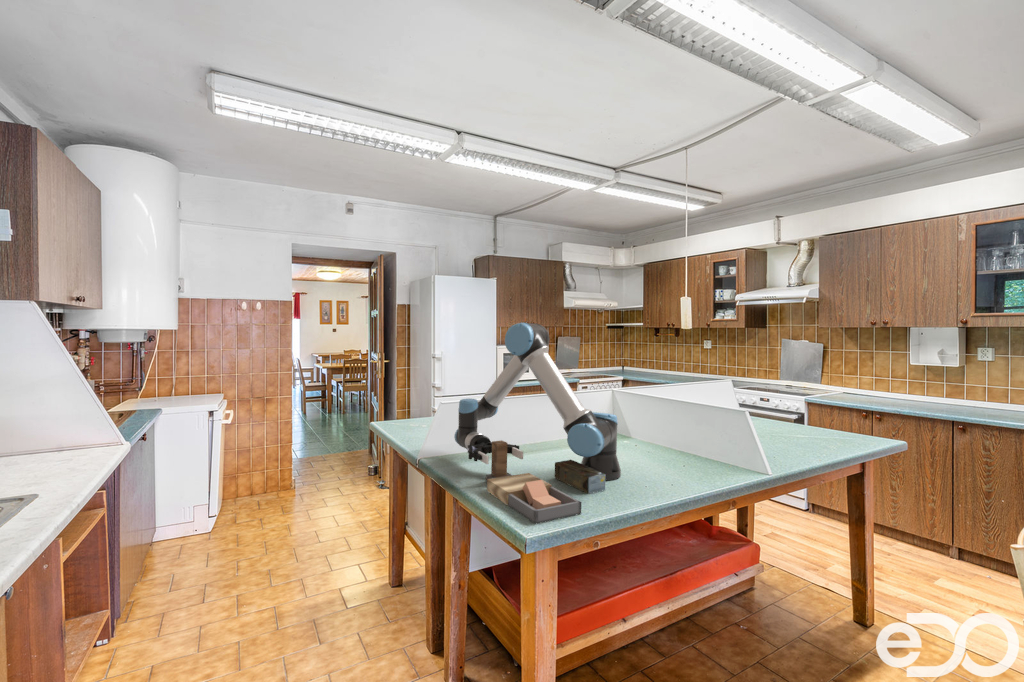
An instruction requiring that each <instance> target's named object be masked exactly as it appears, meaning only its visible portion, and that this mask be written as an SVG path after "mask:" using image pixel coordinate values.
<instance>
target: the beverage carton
mask: <svg viewBox="0 0 1024 682" xmlns="http://www.w3.org/2000/svg"><path fill="white" fill-rule="evenodd" d="M605 476H606V475H605V474H604V473H602V472H599V471H597V470H595V469H592V468H590V467H588V466H585V465H583V464H581V462H578V461H576V460H573V459H567V460H561V461H555V462H554V478H555V479H556V480H559V481H561V482H563V483H565V484H567V485H568V484H569V486H570V485H571V487H573V488H575V489H577V490H579V491H581V492H583V491H584V492H583V493H585V494H588V493H591V494H594V493H593V492H596V493H598V492H597V491H600V492H603V491H602V490H605V491H606V480H605Z"/></svg>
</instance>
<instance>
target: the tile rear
mask: <svg viewBox="0 0 1024 682" xmlns="http://www.w3.org/2000/svg"><path fill="white" fill-rule="evenodd" d="M543 481H544V479H541V480H538V481H532V482H526V483H525V485H524V486H523V491H524V493H525V495H526V498H527V500H528V502H529V505H533V498H536V497H542V496H547V495H549V494H548V491H547V489H546V487H545V485H544V483H543Z"/></svg>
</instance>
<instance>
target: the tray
mask: <svg viewBox="0 0 1024 682" xmlns="http://www.w3.org/2000/svg"><path fill="white" fill-rule="evenodd" d="M549 495H550V496H552V497H554V498H556V499H557V500H559V501H561V505H557V506H552V507H547V508H542V509H537V510H536V509H535V508H533V505H529V502H528V501H522V500H520V499H519V498H517V497H516V496H514V495H513V494H509V502H508V505H507V506H508V507H510V508H511V509H513V510H514V511H516V513H518V514H520V515H521V516H522V517H524V518H526V519H527V520H528V519H529V521H530V522H531V521H532V522H531V523H533V524H534V523H535V524H534V525H536V523H537V524H541V523H540V522H542V523H546V522H550V521H549V520H551V521H554V520H553V519H556V520H559V519H558V518H560V519H563V518H562V517H565V518H568V517H567V516H569V517H572V516H571V515H574V516H577V515H576V514H578V515H581V514H582V501H580V500H579V499H577V498H576V497H575V498H574V497H573V496H571V495H569V494H568V493H565V492H563V491H562V490H561V489H560V490H559V489H558V488H555V487H554V486H552V487H550V494H549ZM580 513H581V514H580ZM545 521H546V522H545Z"/></svg>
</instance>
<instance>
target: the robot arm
mask: <svg viewBox="0 0 1024 682" xmlns="http://www.w3.org/2000/svg"><path fill="white" fill-rule="evenodd" d="M550 340H551V339H550V333H549V331H548V330H547V328H546V327H545V326H544V325H541V324H540V323H529V322H528V323H527V322H518V323H515V324H513V325H511V326H510V327H509V328H508V329H507V331H506V333H505V337H504V344H505V348H506V350H507V351H508V352H509V353H510V354H512V355H513V356H512V358H511V359H510V361H509V362H508V363H507V364H506V366H505V367H504V369H503V370H502V371H501V373H500V374H499V375H498V376H497V378H496V379H495V380H494V382H493V383H492V384H491V386H490V387H489V388H488V390H486V392H485V394H484V395H483V396H482V397H481V398H480V400H479V401H478V400H477V399H476V398H462V399H460V400H459V403H458V427H457V429H456V431H455V432H454V441H455V442H456V444H457V445H458V446H460V447H461V448H464V449H466V450H467V454H468V460H472V459H473V461H474V462H478V461H480V462H481V463H484V464H485V465H489V460H490V459H489V455H488V454H492V441H491V440H490V438H489V437H488V436H487V435H484V434H482V433H480V432H478V424H479V423H478V421H482V420H485V419H489V418H493V416H495V415H496V414H497V413H498V411H499V407H500V405H501V403H502V402H503V401H504V399H506V397H507V396H508V395H509V393H510V392H511V390H512V389H513V388H514V387H515V386H516V384H517V383H518V382H519V380H520V379H521V378H522V377H523V375H524V374H525V373H526V371H528V369H530V371H531V372H532V374H533V375H534V377H535V379H536V380H537V382H538V383H539V385H540V386H541V387H542V390H543V391H544V392H545V394H546V395H547V397H548V398H549V400H550V402H551V403H552V405H553V406H554V408H555V410H556V411H557V413H558V414H559V416H560V418H561V419H562V420H563V427H562V428H563V430H564V431H565V433H566V435H567V439H566V441H567V445H568V447H569V449H570V450H571V451H572V452H573V453H574V454H576V455H577V456H579V457H582V460H581V462H580V463H581V464H583V465H585V466H588V467H590V468H592V469H595V470H597V471H599V472H602V473H604V474H605V475H606V476H605V481H613V479H614V480H617V478H618V479H619V477H620V478H621V476H622V475H621V474H622V470H621V466H620V462H619V459H618V455H617V448H618V447H617V445H618V444H617V443H618V442H617V440H618V423H619V422H618V416H617V415H615V414H614V413H613V414H612V413H605V412H594V411H592V409H587V408H585V407H584V405H583V404H582V403H581V400H580V399H579V398H578V397H577V395H576V394H575V392H574V390H573V389H572V387H571V386H570V384H569V382H568V381H567V380H566V378H565V377H564V375H563V374H562V372H561V371H560V369H559V367H558V366H557V365H556V363H555V362H554V360H553V359H552V356H550V354H549V349H550V347H549V344H550ZM507 454H510V455H512V456H514V457H516V458H518V459H520V460H524V451H523V450H521V449H520V445H517V444H510V443H507Z"/></svg>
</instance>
